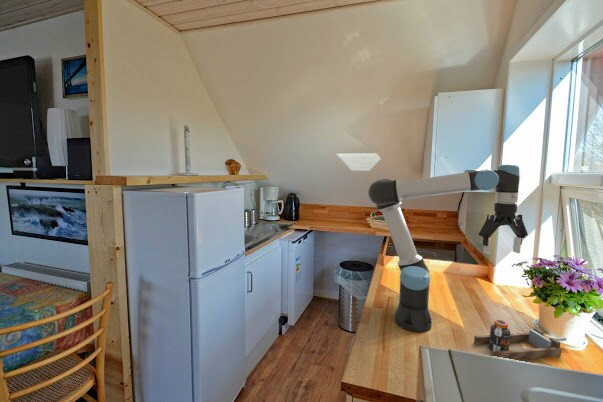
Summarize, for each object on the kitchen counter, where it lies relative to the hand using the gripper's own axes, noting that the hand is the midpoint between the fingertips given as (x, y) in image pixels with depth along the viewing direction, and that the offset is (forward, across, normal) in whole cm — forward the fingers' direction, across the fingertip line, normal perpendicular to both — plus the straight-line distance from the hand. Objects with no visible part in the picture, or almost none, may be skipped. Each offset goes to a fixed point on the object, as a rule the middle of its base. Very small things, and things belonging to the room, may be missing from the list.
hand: (501, 253), depth 117 cm
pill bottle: (+32, -13, -16) cm, 38 cm away
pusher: (+32, +8, -16) cm, 37 cm away
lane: (+32, -6, -16) cm, 36 cm away
